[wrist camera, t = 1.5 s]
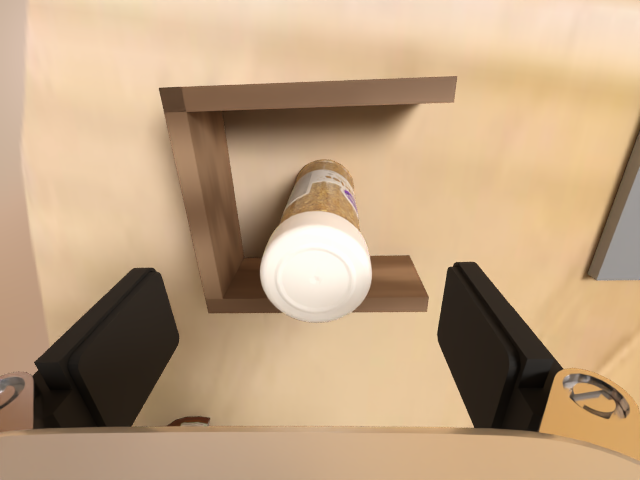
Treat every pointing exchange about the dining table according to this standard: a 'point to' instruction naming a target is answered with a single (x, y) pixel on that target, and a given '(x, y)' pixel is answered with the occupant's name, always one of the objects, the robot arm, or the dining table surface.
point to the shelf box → (218, 192)
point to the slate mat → (622, 229)
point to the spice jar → (318, 248)
